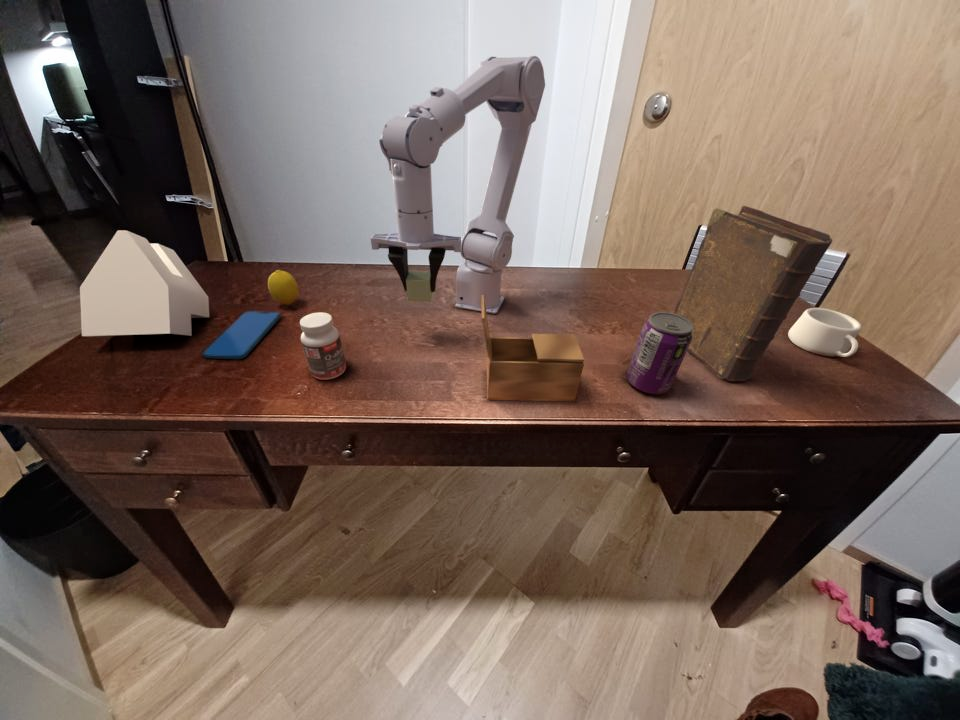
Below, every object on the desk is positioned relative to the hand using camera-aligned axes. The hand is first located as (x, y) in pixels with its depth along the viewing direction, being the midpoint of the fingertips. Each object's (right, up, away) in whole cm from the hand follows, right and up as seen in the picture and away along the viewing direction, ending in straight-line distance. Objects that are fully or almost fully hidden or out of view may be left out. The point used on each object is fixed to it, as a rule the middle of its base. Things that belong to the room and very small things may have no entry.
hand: (420, 289), depth 65 cm
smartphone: (-34, -8, +5) cm, 35 cm away
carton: (+19, -17, -5) cm, 26 cm away
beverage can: (+39, -17, -3) cm, 42 cm away
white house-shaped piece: (-51, -5, +8) cm, 52 cm away
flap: (+12, -8, -12) cm, 18 cm away
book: (+53, -12, +4) cm, 54 cm away
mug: (+78, -10, +8) cm, 79 cm away
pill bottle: (-15, -15, -3) cm, 21 cm away
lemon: (-31, -1, +15) cm, 35 cm away
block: (0, -1, +1) cm, 1 cm away
